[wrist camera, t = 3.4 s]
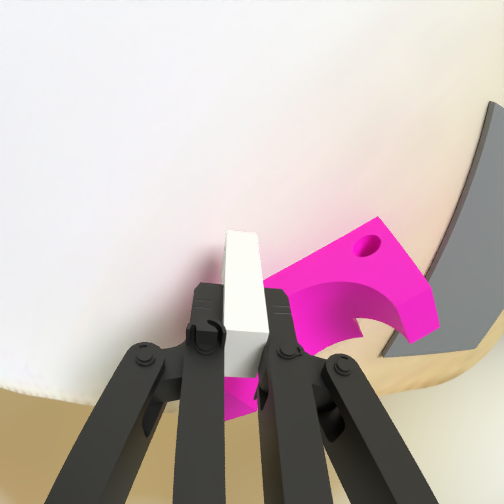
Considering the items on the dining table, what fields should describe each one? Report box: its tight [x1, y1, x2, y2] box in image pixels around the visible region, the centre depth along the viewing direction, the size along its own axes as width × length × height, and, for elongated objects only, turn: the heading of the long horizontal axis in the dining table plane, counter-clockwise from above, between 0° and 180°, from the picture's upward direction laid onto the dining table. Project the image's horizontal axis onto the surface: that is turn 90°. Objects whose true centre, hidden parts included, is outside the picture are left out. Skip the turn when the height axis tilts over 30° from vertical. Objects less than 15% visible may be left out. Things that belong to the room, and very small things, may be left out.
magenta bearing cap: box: [224, 217, 440, 421], centre depth 20 cm, size 15×6×8 cm, turn 123°
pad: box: [382, 101, 504, 357], centre depth 22 cm, size 14×24×1 cm, turn 171°
